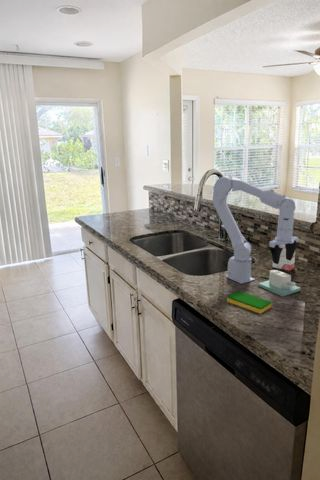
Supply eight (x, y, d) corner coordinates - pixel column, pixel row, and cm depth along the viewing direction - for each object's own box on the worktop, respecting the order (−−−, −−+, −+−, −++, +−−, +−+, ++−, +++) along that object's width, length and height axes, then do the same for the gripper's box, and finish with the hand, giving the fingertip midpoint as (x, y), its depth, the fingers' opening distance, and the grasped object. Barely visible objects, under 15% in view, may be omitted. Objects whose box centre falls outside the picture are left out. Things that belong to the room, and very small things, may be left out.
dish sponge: (237, 296, 131) (237, 290, 130) (271, 308, 121) (271, 301, 121) (226, 302, 126) (226, 296, 126) (260, 314, 117) (261, 308, 116)
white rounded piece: (266, 282, 139) (267, 271, 138) (273, 280, 141) (274, 269, 140) (289, 292, 130) (290, 279, 129) (296, 289, 132) (297, 277, 131)
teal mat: (258, 286, 139) (258, 283, 139) (275, 280, 144) (275, 278, 144) (282, 296, 129) (283, 293, 129) (300, 290, 134) (300, 287, 134)
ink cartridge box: (294, 268, 158) (297, 237, 154) (289, 271, 155) (292, 239, 151) (276, 264, 164) (278, 234, 160) (271, 267, 160) (274, 236, 157)
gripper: (280, 233, 128) (278, 267, 132) (305, 228, 136) (302, 260, 139) (266, 229, 134) (263, 262, 138) (290, 224, 142) (288, 256, 145)
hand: (282, 261), depth 139 cm, fingers open, 7 cm apart
